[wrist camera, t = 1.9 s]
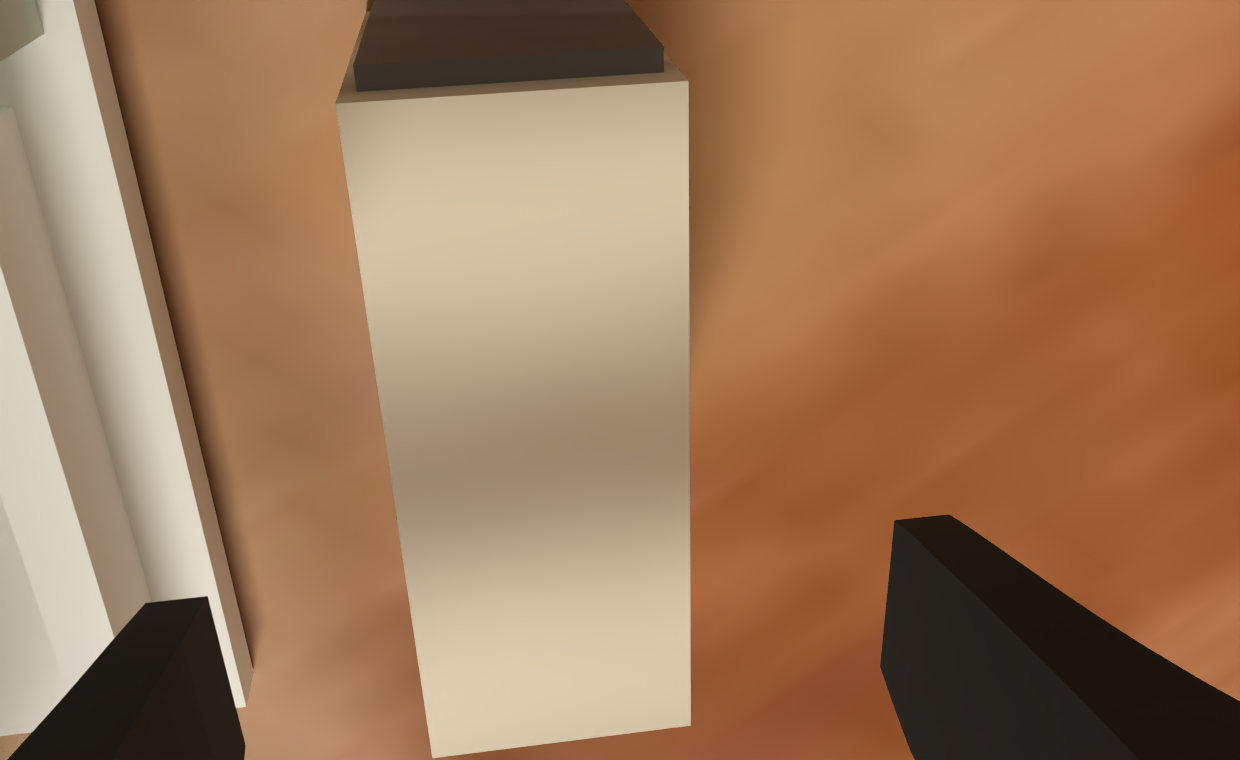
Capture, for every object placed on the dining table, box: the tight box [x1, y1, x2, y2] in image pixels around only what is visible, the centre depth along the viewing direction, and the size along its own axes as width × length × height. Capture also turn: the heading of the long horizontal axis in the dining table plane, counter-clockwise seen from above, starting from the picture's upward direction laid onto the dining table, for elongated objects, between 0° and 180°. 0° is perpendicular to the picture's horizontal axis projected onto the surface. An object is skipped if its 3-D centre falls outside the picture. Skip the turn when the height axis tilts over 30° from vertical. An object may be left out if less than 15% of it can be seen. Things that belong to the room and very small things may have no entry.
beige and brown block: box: [336, 0, 691, 758], centre depth 18 cm, size 10×4×6 cm, turn 2°
